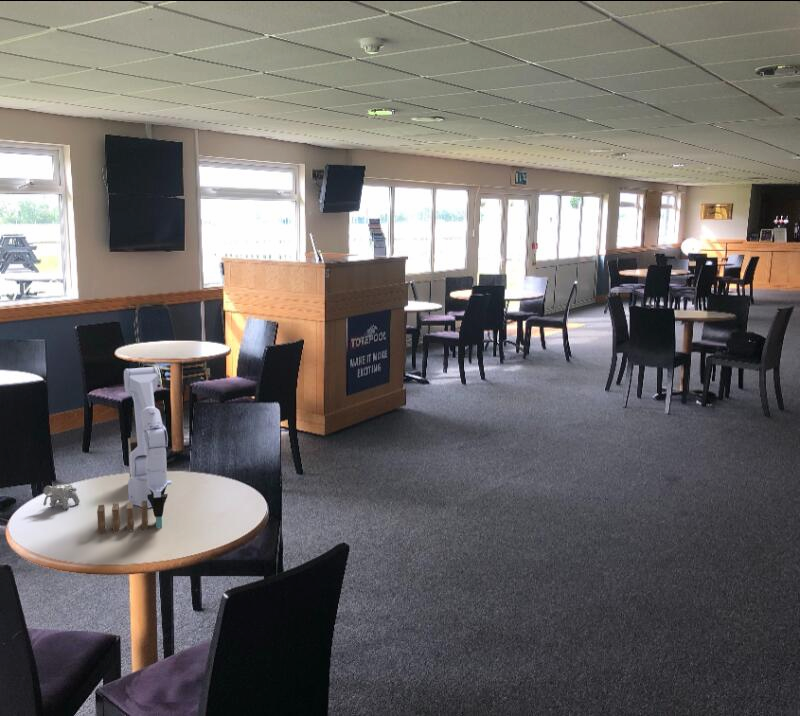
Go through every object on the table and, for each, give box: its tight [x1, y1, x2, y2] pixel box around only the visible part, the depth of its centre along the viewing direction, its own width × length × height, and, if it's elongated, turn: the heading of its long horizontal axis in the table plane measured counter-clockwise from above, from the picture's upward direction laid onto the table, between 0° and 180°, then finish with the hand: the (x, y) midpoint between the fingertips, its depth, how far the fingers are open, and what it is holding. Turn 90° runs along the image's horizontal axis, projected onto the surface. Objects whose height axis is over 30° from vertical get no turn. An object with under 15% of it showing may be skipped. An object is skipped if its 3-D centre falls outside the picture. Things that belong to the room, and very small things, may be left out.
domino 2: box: [111, 502, 121, 533], centre depth 223 cm, size 2×5×7 cm, turn 17°
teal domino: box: [155, 516, 163, 529], centre depth 226 cm, size 2×5×7 cm, turn 17°
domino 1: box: [96, 504, 107, 535], centre depth 221 cm, size 2×5×7 cm, turn 17°
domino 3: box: [126, 501, 135, 532], centre depth 224 cm, size 2×5×7 cm, turn 17°
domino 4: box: [140, 501, 149, 530], centre depth 225 cm, size 2×5×7 cm, turn 17°
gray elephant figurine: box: [43, 483, 81, 510], centre depth 237 cm, size 9×12×8 cm
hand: (158, 511), depth 226 cm, fingers open, 7 cm apart
